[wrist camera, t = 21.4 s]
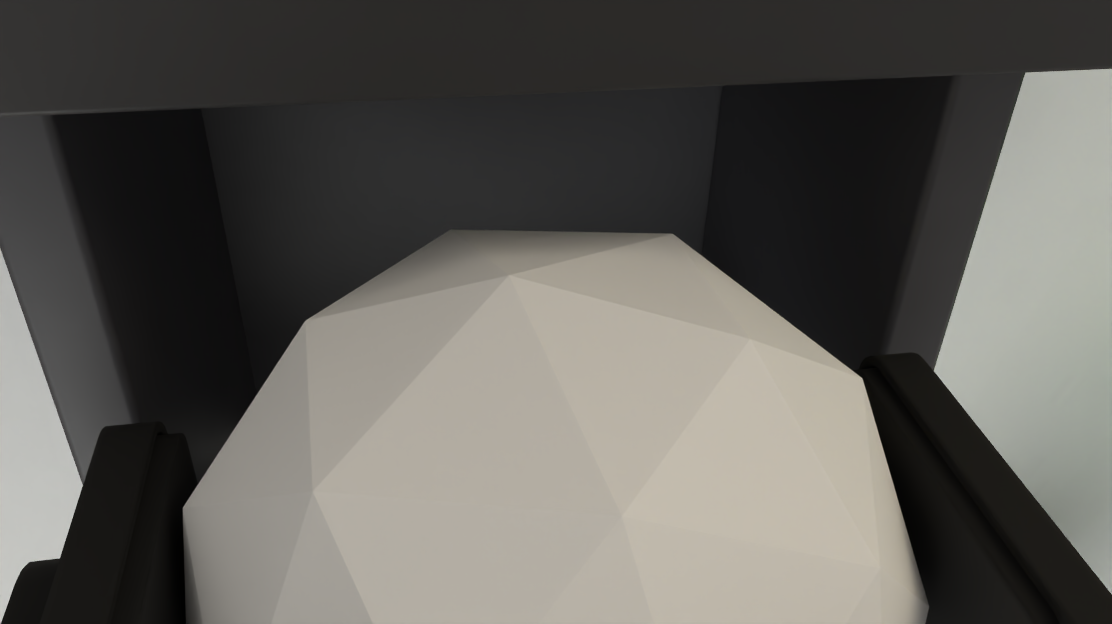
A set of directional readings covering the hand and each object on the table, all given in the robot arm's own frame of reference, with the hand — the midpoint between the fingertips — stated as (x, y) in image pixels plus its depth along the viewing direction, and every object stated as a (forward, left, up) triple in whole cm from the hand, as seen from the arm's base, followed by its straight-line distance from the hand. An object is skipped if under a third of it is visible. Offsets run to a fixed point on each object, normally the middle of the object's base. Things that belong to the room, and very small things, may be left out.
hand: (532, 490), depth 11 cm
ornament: (0, 0, -3) cm, 3 cm away
